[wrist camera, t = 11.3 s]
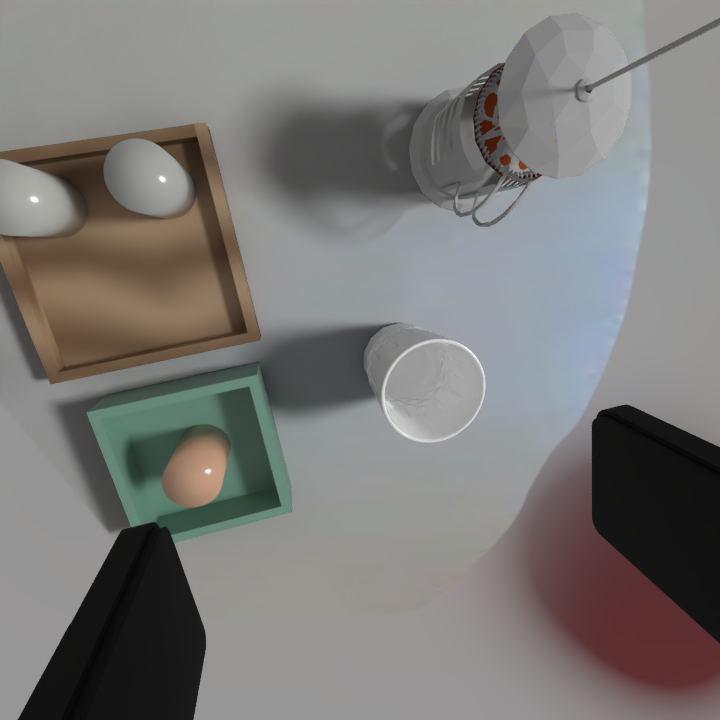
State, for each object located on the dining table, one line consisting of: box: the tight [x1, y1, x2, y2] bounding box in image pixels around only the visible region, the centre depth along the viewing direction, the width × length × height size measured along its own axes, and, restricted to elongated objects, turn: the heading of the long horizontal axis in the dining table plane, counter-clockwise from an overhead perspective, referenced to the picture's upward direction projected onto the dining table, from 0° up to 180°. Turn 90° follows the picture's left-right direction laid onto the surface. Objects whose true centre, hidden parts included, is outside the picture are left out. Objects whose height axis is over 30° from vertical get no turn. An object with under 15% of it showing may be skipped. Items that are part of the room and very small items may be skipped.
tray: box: [0, 123, 261, 384], centre depth 33 cm, size 16×16×2 cm
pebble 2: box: [104, 138, 196, 219], centre depth 30 cm, size 4×4×6 cm
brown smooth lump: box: [162, 424, 231, 507], centre depth 35 cm, size 4×4×6 cm
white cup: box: [364, 323, 485, 443], centre depth 35 cm, size 8×8×10 cm
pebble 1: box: [0, 159, 88, 238], centre depth 29 cm, size 4×4×6 cm
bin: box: [86, 362, 292, 543], centre depth 37 cm, size 13×13×4 cm
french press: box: [409, 13, 720, 227], centre depth 25 cm, size 10×12×25 cm
